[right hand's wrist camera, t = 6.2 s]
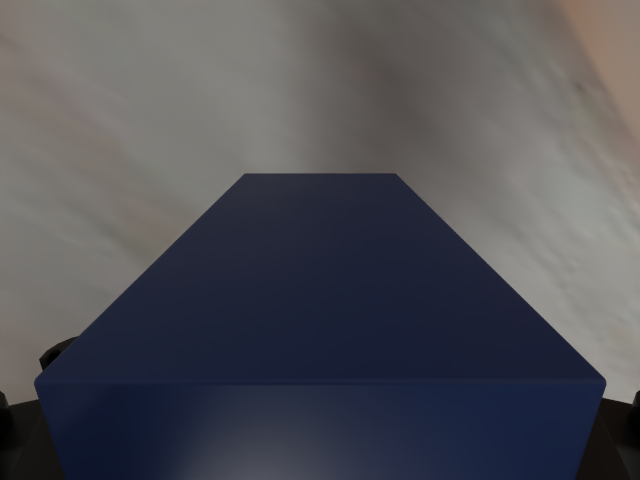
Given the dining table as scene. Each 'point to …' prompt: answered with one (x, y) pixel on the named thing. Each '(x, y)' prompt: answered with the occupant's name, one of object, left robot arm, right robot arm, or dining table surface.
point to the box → (320, 352)
